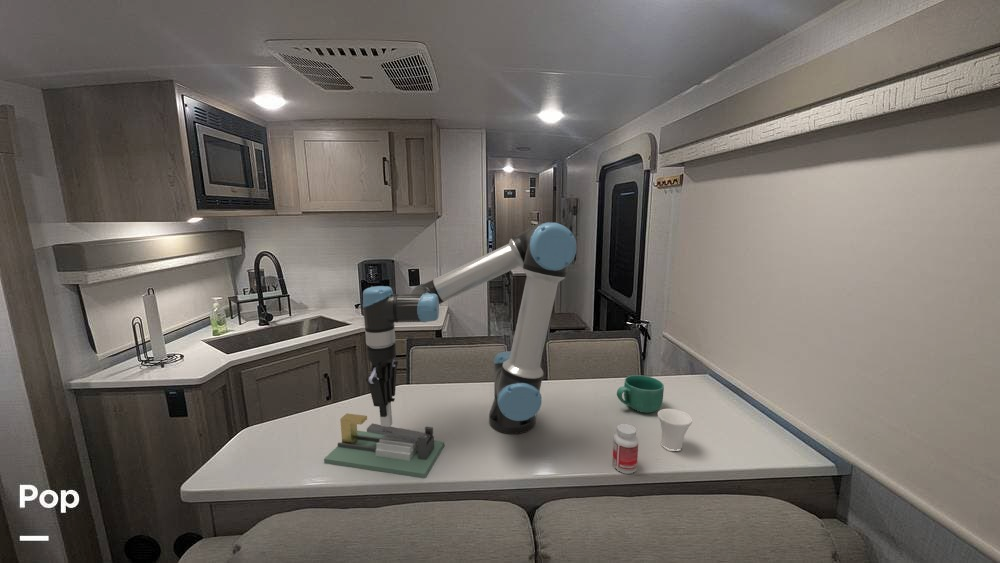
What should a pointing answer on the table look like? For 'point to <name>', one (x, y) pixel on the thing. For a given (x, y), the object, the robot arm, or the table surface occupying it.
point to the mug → (642, 393)
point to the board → (381, 461)
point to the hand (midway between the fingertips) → (386, 424)
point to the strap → (397, 432)
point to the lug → (351, 427)
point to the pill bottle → (625, 449)
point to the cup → (673, 427)
